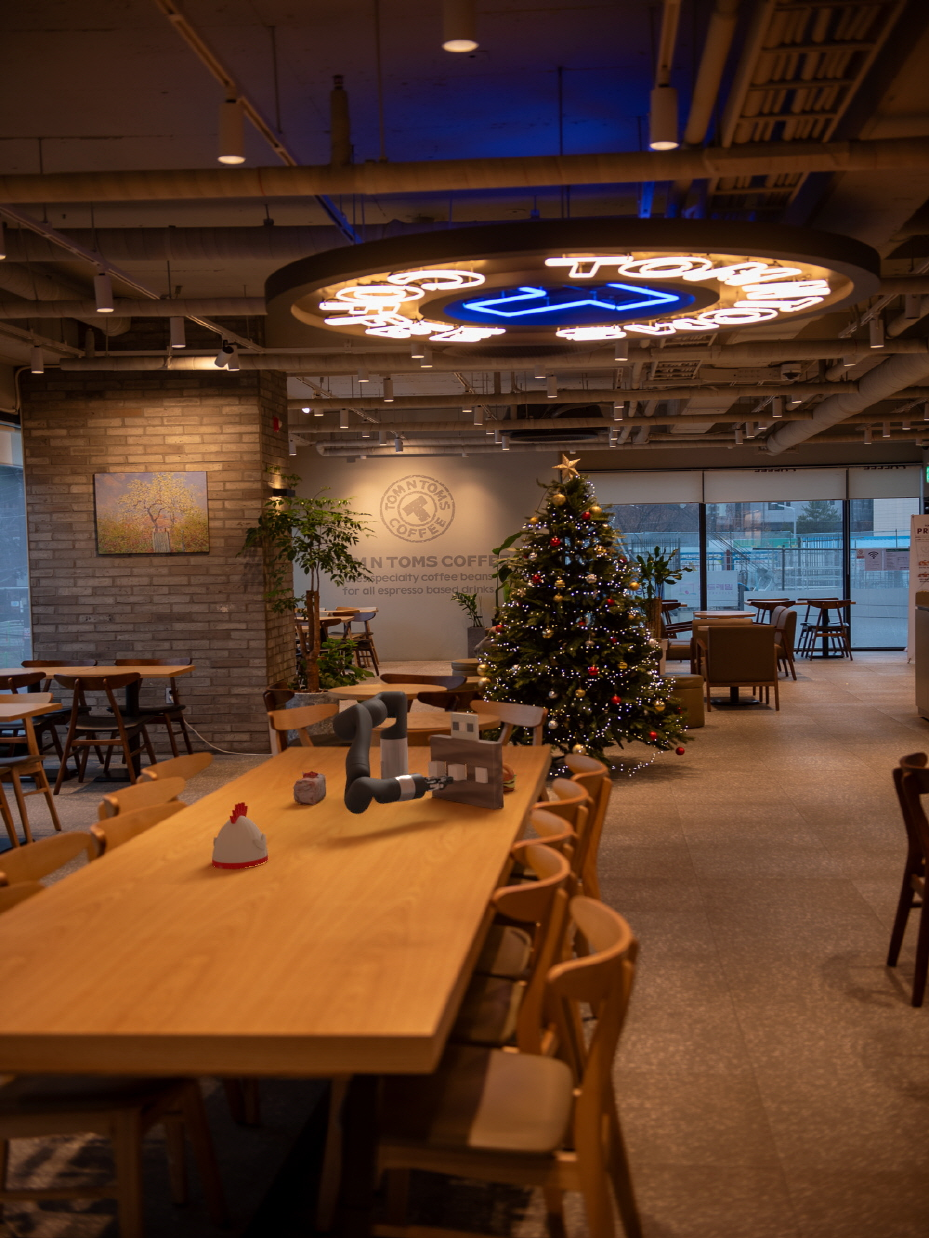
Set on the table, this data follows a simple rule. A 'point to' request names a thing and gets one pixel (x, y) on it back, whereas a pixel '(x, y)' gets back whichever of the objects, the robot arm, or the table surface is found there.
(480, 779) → the right button
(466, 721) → the pattern sign
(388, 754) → the robot arm
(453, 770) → the middle button
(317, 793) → the food item
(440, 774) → the left button
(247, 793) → the table surface
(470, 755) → the console
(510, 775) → the cheeseburger
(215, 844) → the kitchen timer
